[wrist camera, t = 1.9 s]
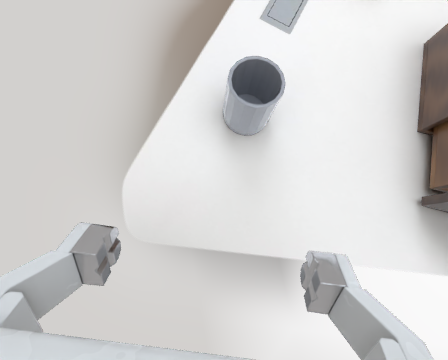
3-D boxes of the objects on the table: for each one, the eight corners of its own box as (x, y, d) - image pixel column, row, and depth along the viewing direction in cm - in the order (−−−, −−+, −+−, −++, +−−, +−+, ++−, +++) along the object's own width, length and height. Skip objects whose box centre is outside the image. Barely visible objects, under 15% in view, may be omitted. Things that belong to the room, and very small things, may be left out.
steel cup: (262, 140, 35) (279, 113, 28) (218, 129, 35) (222, 99, 28) (271, 100, 37) (289, 64, 29) (229, 89, 37) (235, 49, 29)
